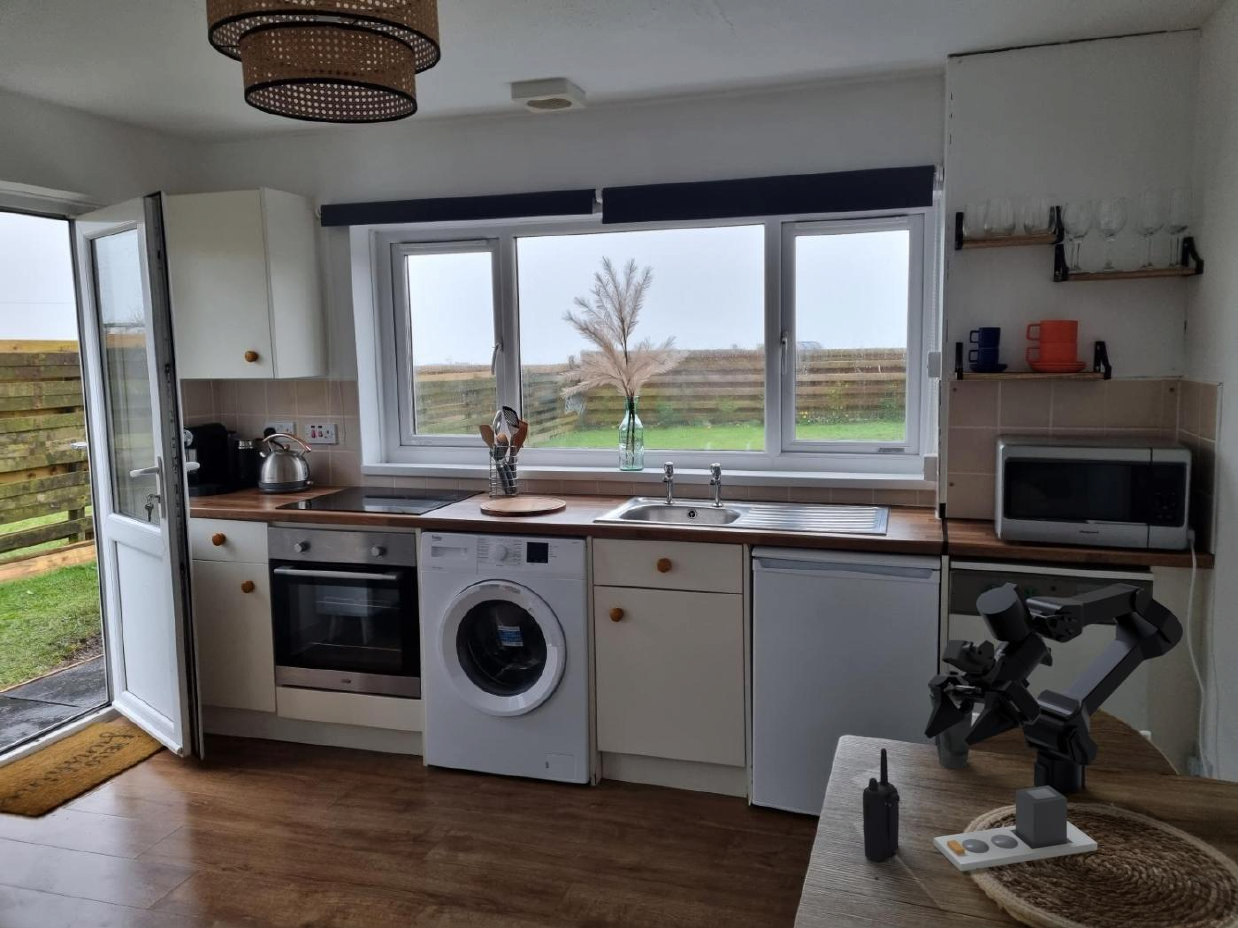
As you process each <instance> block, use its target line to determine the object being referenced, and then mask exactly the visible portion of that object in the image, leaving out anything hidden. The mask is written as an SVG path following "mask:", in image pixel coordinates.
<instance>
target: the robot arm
mask: <svg viewBox="0 0 1238 928" xmlns="http://www.w3.org/2000/svg"><path fill="white" fill-rule="evenodd" d="M975 603H976V604H975V605H976V608H977V610H978V612H979V614H980V616H981V618H982V620H983V621H984V623H985V625H986V627H987V629H988V631H989V633H990V635H991V637H993V639H995V640H996V641H999V642H1000V643H999V644H998V646H996V648H995V643H992V642H991V641H990V640H988V639H978V640H976V641H975V642H973V641H970V640H969V641H968V640H966V639H949V640H948V641H947V645H945V646H946V649H945V651H943V654H942V657H941V661H942V662H944V663H949V665H951V666H952V667H954V668H956V669H957V670H959V671H961V672H962V673H961V675H960V676H961V677H962V678H963V679H964V681H967V682H968V683H969V684H968V686H963V685H962V684H961V683H960V681H959V680H958V679H957V678H956V677H951V676H938V675H934V676H932V677H933V678H932V679H931V680H930V681H929V682H928V683H927V687H928V688H929V689H930V690H929V691H931V693H932V694H933V696H934V700H935V703H934V707H932V711H931V714H930V715H929V719H928V722H927V724H926V727H925V730H924V735H925V736H926V738H928V739H932V738H934V737H936V735H938V734H940V733H942V732H943V731H945V730H947V729H948V728H950V727H952V726H953V725H955V724H957V723H959V722H960V721H962V720H964V719H965V718H966V717H965V716H964V715H966V714H968V713H970V712H971V711H972V709H973V708H975V704H982V705H983V706H984V707H983V709H982V710H981V712H980V713H979V714H978V716H977V717H976V719H975V721H974V722H973V724H971V728H970V729H969V731H968V733H967V734H966V736H965V738H964V742H965V743H966V744H967V745H969V747H970V746H973V745H975V744H978V743H981V742H983V741H987V740H988V739H991V738H993V737H995V736H998V735H1001V734H1004V733H1006V732H1009V731H1012V730H1015V729H1017V728H1022V732H1023V734H1024V735H1023V736H1024V739H1025V742H1026V745H1027V747H1028V748H1029V749H1033V750H1036V761H1035V762H1034V764H1033V786H1034V787H1041V786H1048V785H1049V786H1050V787H1051V788H1053V789H1054V790H1056V791H1057V792H1059V793H1060V794H1061V795H1075V794H1078V793H1080V792H1081V790H1082V789H1085V788H1086V766H1091V764H1092V761H1095V760H1096V757H1097V753H1098V750H1099V749H1098V748H1099V746H1098V744H1096V741H1094V740H1093V739H1092V738H1091V737H1090V736H1089V735H1090V734H1091V733H1090V731H1091V727H1090V723H1091V716H1092V715H1093V714H1094V713H1095V712H1096V711H1097V710H1098V709H1099V708H1100V707H1101V706H1102V705H1103V703H1104V702H1105V701H1107V700H1108V698H1109V697H1110V696H1112V694H1113V693H1114V692H1115V691H1116V690H1117V689H1118V688H1119V687H1120V686H1121V685H1122V684H1123V682H1125V680H1126V679H1127V678H1129V676H1131V674H1132V673H1133V672H1134V671H1135V670H1136V669H1137V668H1138V667H1139V666H1140V665H1141V664H1142V663H1143V662H1145V661H1148V660H1151V659H1155V658H1161V657H1163V656H1165V655H1166V654H1167V653H1168V652H1170V651H1171V650H1172V649H1174V648H1175V647H1176V646H1177V645H1178V644H1179V643H1180V641H1181V640H1182V638H1183V634H1184V630H1183V629H1184V628H1183V626H1182V623H1180V621H1179V618H1178V617H1177V615H1175V614H1174V613H1173V612H1172V611H1171V609H1169V608H1167V607H1166V606H1165V605H1163V604H1161V603H1160V602H1158V601H1157V599H1154V598H1153V597H1152V596H1151V595H1150V593H1149V591H1147V590H1146V589H1144V588H1142V587H1140V586H1135V585H1129V584H1125V583H1120V582H1119V583H1113V584H1111V585H1110V586H1108V587H1104V588H1100V589H1096V590H1092V591H1089V592H1084V593H1081V594H1077V595H1073V596H1069V597H1055V596H1031V597H1028V598H1027V599H1026V600H1025V598H1024V596H1023V592H1022V590H1021V587H1020V586H1019V584H1015V583H1010V582H1006V583H1005V584H1004V585H1003V586H1001V587H995V588H992V589H989V590H988V591H985V592H983V593H981V594H980V595H979V597H978V598H977V600H976V602H975ZM1111 619H1112V620H1114V622H1115V623H1116V624H1115V639H1114V640H1113V641H1112V642H1111V643H1110V644H1109V645H1108V646H1106V648H1105V649H1104V650H1103V651H1102V652H1101V653H1100V654H1099V655H1098V656H1097V657H1096V658H1095V659H1094V660H1093V661H1092V662H1091V664H1089V665H1088V666H1087V667H1086V668H1085V669H1084V670H1083V671H1082V673H1080V674H1079V675H1078V676H1077V678H1076V679H1074V681H1072V683H1071V684H1070V685H1069V686H1068V687H1067V688H1066V689H1065V690H1064V691H1063V692H1060V693H1059V692H1055V691H1052V690H1051V689H1044V690H1042V691H1041V692H1040V693H1039V695H1038V696H1037V697H1036V698H1035V697H1034V696H1033V695H1032V694H1031V693H1030V692H1029V690H1028V687H1029V686H1030V685H1031V683H1030V682H1029V681H1028V678H1029V676H1030V675H1031V674H1032V673H1033V671H1035V670H1036V668H1037V667H1038V666H1039V665H1044V666H1046V667H1052V666H1053V662H1054V661H1053V659H1054V658H1053V656H1052V648H1051V647H1049V646H1047V644H1046V642H1045V640H1044V639H1047V640H1050V641H1053V642H1056V643H1061V644H1066V643H1069V642H1070V641H1072V640H1074V639H1076V638H1077V637H1080V636H1081V635H1082V634H1083V631H1084V628H1085V627H1088V626H1089V625H1093V624H1097V623H1100V622H1104V621H1108V620H1111ZM973 710H974V709H973ZM972 712H973V711H972Z"/></svg>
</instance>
